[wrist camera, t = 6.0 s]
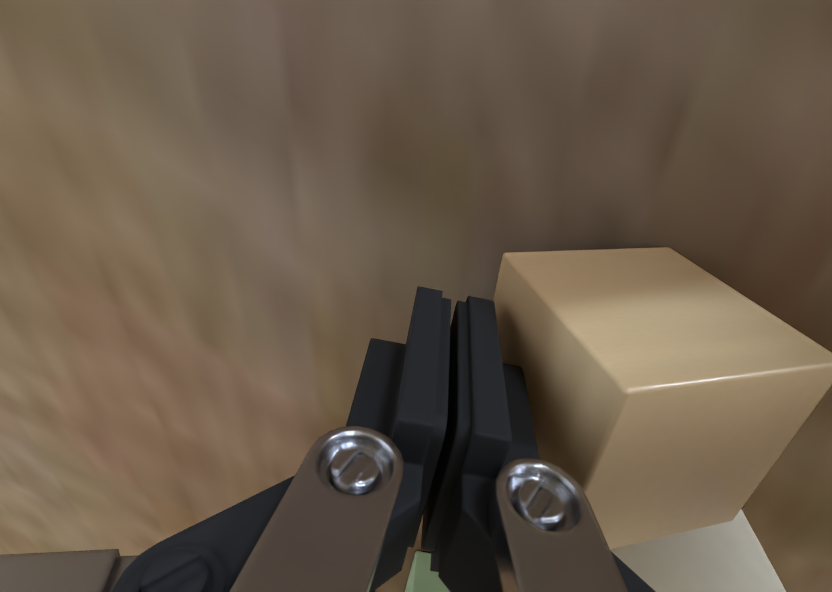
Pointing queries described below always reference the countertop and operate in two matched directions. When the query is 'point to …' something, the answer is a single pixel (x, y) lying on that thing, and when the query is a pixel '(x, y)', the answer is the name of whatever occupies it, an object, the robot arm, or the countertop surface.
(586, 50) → the countertop surface
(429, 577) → the sage block
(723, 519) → the birch block
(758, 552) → the cream block
